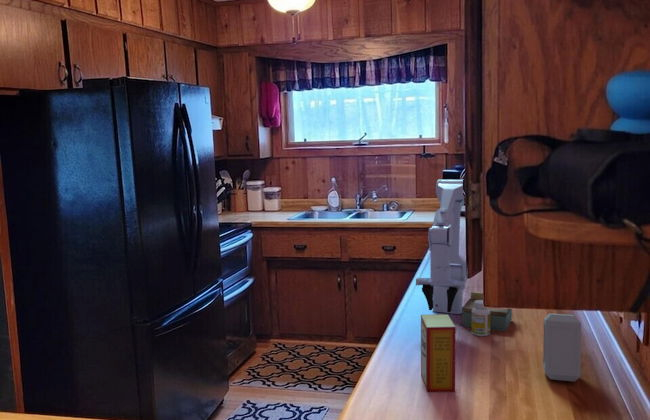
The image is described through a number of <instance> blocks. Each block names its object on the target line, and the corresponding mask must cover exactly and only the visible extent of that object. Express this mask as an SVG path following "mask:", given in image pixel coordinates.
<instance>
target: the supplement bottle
mask: <svg viewBox="0 0 650 420" xmlns="http://www.w3.org/2000/svg"><path fill="white" fill-rule="evenodd" d="M474 306H475V308H473V309H472V327H471V334H472V335H474V336H477V337H486V336H489V335H490V334H491V329H490V310H489V309H488V308H484V307H483V300H476V301H474Z"/></svg>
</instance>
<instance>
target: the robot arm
mask: <svg viewBox="0 0 650 420" xmlns="http://www.w3.org/2000/svg"><path fill="white" fill-rule="evenodd" d="M463 180H464V179H441V178H439V179H437V181H436V184H435V194H436V197H437V201H438V202H439V204H440V206H439V209H437V210H436V211H435V214H434V218H433V221H432V227H429V228H428V232H427V239H428V249H429V252H430V255H429V256H430V267H429V268H430V272H429V273H430V274H429V275H430V277H417V278H416V279H415V286H422V287H421V291H422V294H423V295H424V297H425V299H426V303H427V307H428V311H432V312H438V313H444V314H455V315H462V314H463V311H462V307H463V306H464V305H463V302H464V301H463V300H464V299H463V295H464V294H463V293H464V291H463V290H465V289H466V284H467V281H468V277H467V278H466V262H467V260H465V258H463V257H462V256H461V255H460V235H461V234H460V229H461V211H462V207H463V206H465V205H464V195H463Z"/></svg>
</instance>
